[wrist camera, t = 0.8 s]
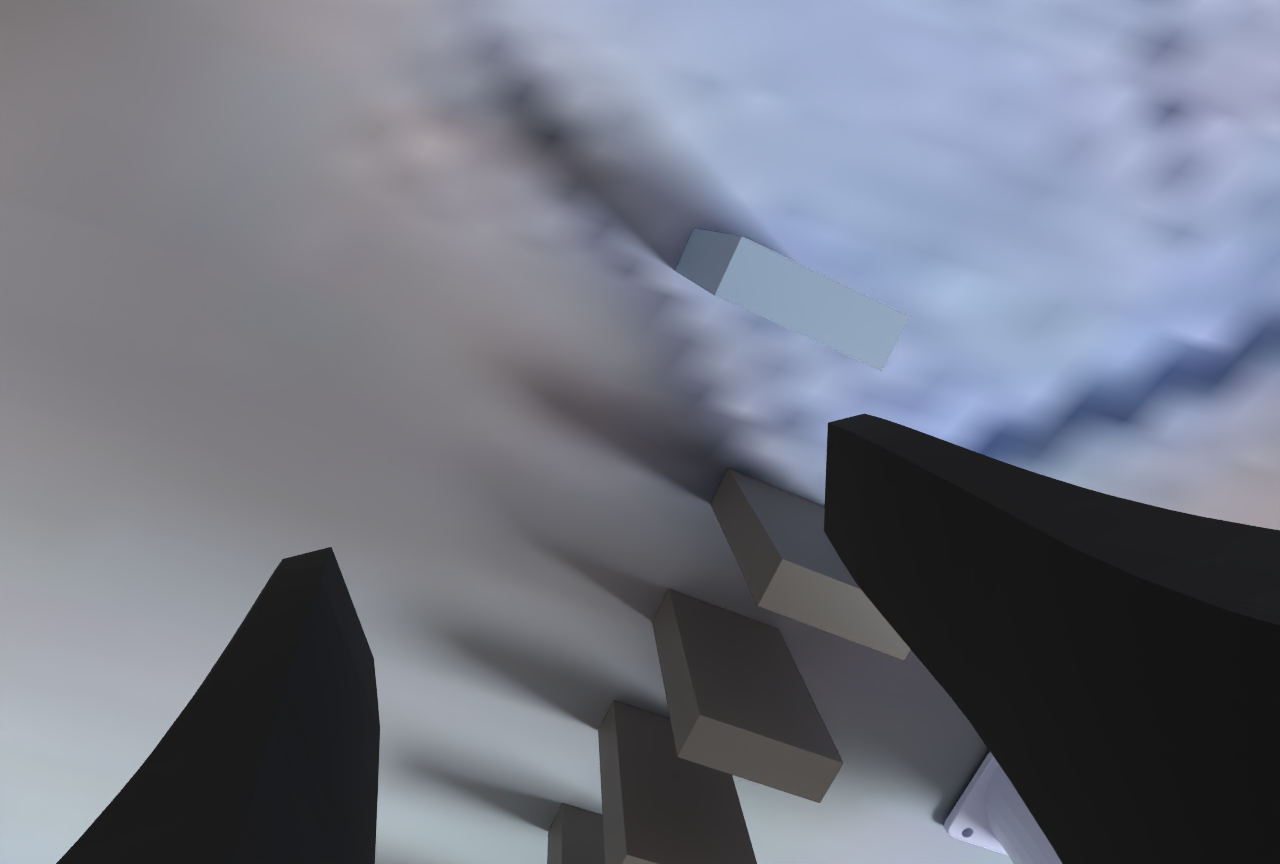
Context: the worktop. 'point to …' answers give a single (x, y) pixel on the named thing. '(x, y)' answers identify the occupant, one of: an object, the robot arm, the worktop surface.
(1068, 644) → the robot arm
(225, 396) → the worktop surface
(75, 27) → the worktop surface
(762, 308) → the domino
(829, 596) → the domino
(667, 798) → the domino
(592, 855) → the domino
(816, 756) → the domino
